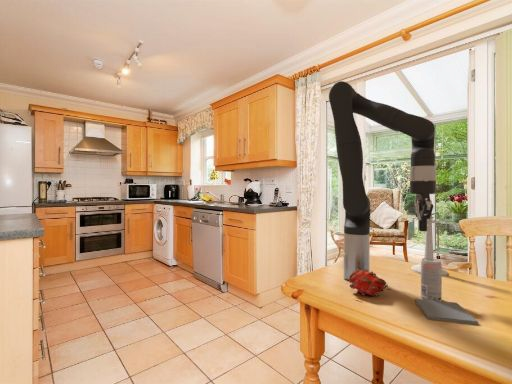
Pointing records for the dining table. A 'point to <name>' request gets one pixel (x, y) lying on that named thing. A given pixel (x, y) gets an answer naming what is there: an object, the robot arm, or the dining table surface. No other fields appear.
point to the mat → (445, 311)
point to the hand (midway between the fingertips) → (422, 231)
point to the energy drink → (431, 279)
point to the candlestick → (428, 247)
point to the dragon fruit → (366, 282)
